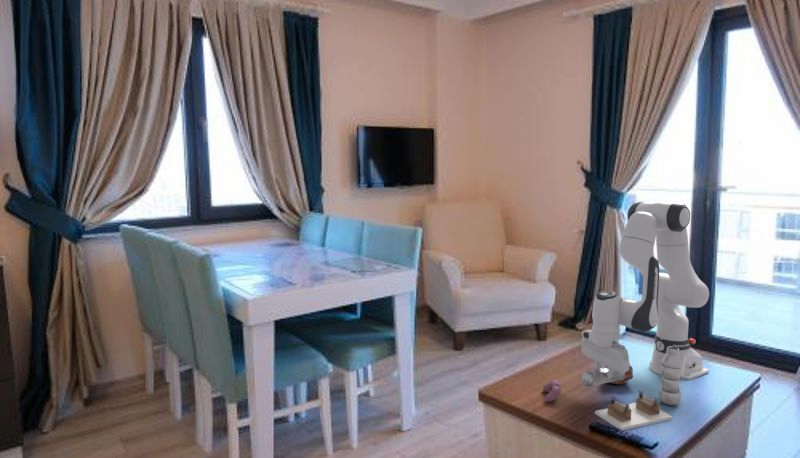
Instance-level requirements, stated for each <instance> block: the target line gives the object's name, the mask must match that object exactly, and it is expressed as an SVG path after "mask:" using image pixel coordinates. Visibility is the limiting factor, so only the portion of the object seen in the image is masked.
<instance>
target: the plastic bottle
mask: <svg viewBox="0 0 800 458" xmlns="http://www.w3.org/2000/svg"><path fill="white" fill-rule="evenodd" d="M666 353H667V354H666V355H665V356H664V357H663V358H662V360H661V365H662V375H661V376H662V377H661V386H660V389H659V395H658V397H659V401H661V403H662V404H664V405H667V406H668V405H669V406H678V405H680V403H681V400H682V396H681V390H680V389H681V387H680V385H681V384H680V381H681V378H680V375H681V371H682V366H683V364H682V361H681V359H680V358H679V356H678V355H679V348H677V347H673V346H668V347H667V351H666Z"/></svg>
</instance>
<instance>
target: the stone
mask: <svg viewBox="0 0 800 458" xmlns="http://www.w3.org/2000/svg"><path fill="white" fill-rule="evenodd" d="M604 368H607V366H605V367H604ZM633 371H634V369H633V366H631V364H630V363H629V370H628V372H625V379H624V380H618V381H613V382H608V383H609V384H615V385H624V384H625V383H626V382H629V381H630V380H632V379H634V372H633Z"/></svg>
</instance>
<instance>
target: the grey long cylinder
mask: <svg viewBox="0 0 800 458" xmlns="http://www.w3.org/2000/svg"><path fill="white" fill-rule="evenodd" d="M602 368H603V367H602ZM606 372H608V369H607V368H605V367H604V368H603V369H598V370H596V369H593V370H588V371H583V372H582V378H581V379H582V381H581V382H582V383H581V384H582V386H584V387H588V388H591V387H592V388H593V386H594V387H595V386H599V385H602V384H607V383H609V382H613V381H618V380H624V379H625V372H624V373H619V372H617V371H615V370H614V372H613V373H612V378H610V379H608V378H606V377H605V373H606Z"/></svg>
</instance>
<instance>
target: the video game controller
mask: <svg viewBox="0 0 800 458" xmlns="http://www.w3.org/2000/svg"><path fill="white" fill-rule="evenodd" d="M561 386H562V385H561V382H560V381H559V380H557V379H553V380H551V381H550V382H548V383H547V384H544V386H543V388H542V391H543V392H545V393H547V394H546V395H545V396H544V398H543V399H544V401H545V402H547V403H549V402H553V401H555V400H556V399H558V398H559V397H560V396H562V387H561ZM548 392H549V393H548Z"/></svg>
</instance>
